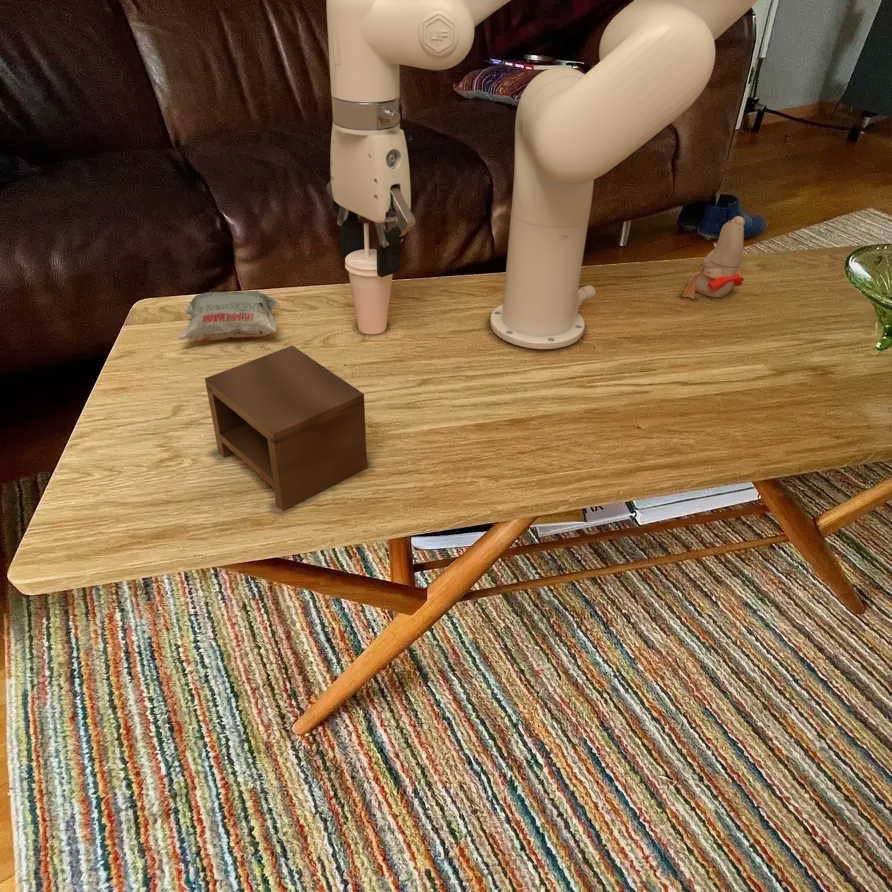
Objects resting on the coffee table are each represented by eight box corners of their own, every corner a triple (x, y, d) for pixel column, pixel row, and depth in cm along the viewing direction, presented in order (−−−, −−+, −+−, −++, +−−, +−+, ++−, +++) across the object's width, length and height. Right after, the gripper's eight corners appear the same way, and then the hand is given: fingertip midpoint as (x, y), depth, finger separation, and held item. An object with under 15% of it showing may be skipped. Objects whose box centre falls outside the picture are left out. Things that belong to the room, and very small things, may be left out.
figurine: (708, 276, 117) (741, 203, 109) (741, 299, 113) (777, 225, 105) (668, 286, 113) (699, 211, 105) (701, 310, 109) (735, 234, 101)
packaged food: (278, 347, 96) (274, 311, 93) (181, 352, 94) (173, 316, 91) (278, 316, 103) (275, 282, 100) (188, 320, 101) (181, 286, 98)
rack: (299, 416, 84) (292, 345, 78) (367, 468, 77) (364, 393, 72) (218, 452, 78) (204, 378, 73) (283, 511, 71) (273, 434, 66)
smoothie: (371, 311, 104) (368, 211, 96) (406, 326, 101) (406, 224, 93) (338, 328, 100) (331, 225, 92) (373, 344, 97) (370, 239, 89)
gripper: (443, 124, 82) (439, 279, 93) (346, 93, 92) (352, 236, 102) (389, 136, 78) (391, 296, 88) (293, 102, 88) (305, 250, 98)
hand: (370, 263), depth 95 cm, fingers closed on smoothie, 6 cm apart
